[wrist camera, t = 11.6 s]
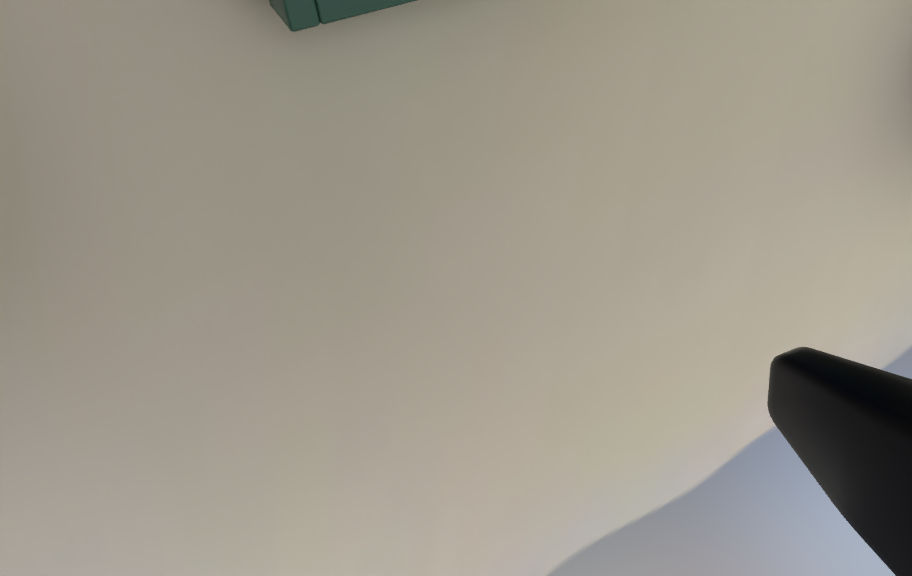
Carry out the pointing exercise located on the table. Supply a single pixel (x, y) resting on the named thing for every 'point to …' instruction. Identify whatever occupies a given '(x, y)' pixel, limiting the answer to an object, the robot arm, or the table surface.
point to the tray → (325, 10)
